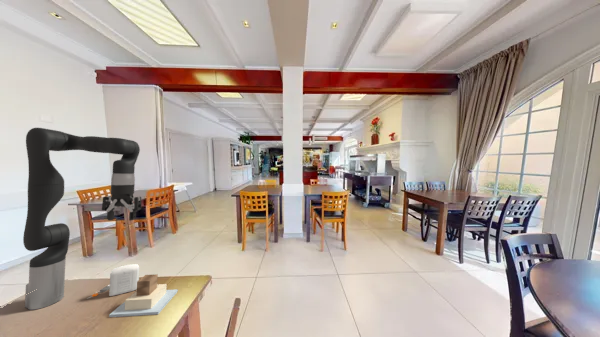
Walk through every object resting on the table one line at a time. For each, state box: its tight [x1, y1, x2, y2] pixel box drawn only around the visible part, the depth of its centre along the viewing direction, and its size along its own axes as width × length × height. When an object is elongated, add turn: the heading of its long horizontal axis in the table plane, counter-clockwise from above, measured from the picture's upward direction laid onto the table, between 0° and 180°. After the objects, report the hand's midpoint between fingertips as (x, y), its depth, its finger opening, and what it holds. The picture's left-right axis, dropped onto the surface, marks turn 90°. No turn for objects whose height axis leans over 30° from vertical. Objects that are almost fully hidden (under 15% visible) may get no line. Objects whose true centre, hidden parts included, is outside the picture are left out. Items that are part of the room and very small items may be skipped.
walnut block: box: [136, 273, 158, 296], centre depth 79 cm, size 5×5×6 cm
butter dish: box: [108, 283, 179, 318], centre depth 79 cm, size 18×14×5 cm
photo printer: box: [108, 263, 140, 297], centre depth 87 cm, size 10×4×12 cm, turn 123°
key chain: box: [86, 284, 110, 300], centre depth 85 cm, size 13×4×2 cm, turn 174°
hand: (121, 220), depth 80 cm, fingers open, 8 cm apart
